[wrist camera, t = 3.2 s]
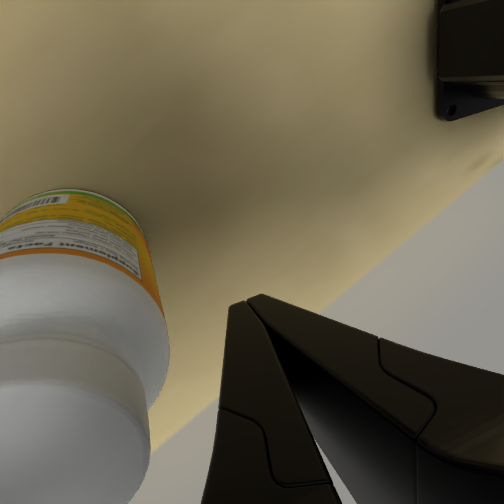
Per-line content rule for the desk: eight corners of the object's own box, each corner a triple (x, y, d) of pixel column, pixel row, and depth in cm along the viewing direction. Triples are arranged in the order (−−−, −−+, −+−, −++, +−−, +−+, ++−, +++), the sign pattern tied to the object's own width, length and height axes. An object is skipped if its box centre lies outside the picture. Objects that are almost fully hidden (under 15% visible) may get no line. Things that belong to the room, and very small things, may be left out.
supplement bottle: (117, 328, 16) (121, 585, 8) (-27, 291, 14) (-244, 608, 5) (170, 220, 15) (240, 383, 7) (24, 159, 13) (-147, 298, 4)
